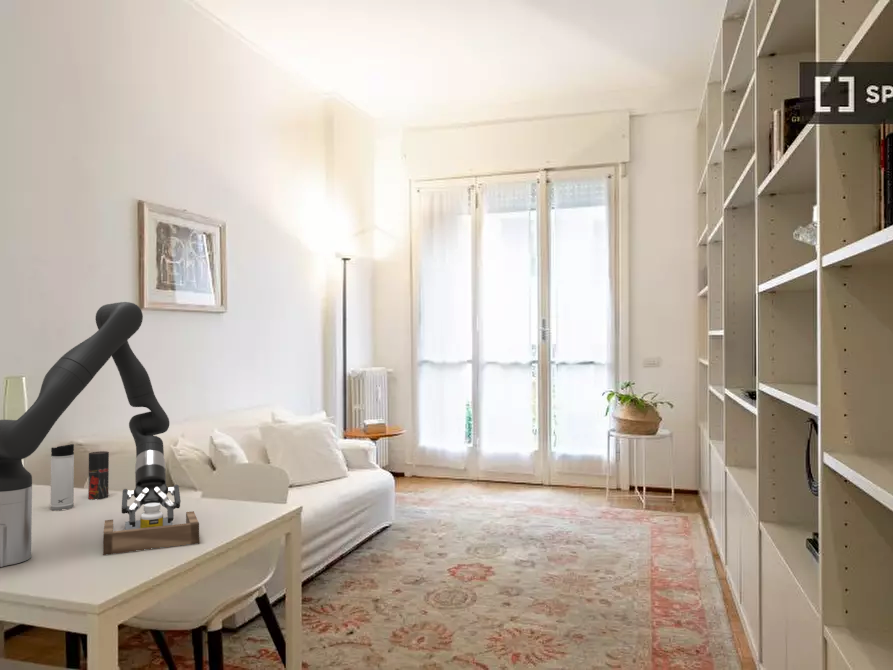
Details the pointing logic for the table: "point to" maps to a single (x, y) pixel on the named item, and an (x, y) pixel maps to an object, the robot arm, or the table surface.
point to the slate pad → (137, 524)
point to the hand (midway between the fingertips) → (151, 523)
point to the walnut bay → (150, 536)
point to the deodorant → (98, 475)
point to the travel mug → (62, 477)
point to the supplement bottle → (151, 516)
